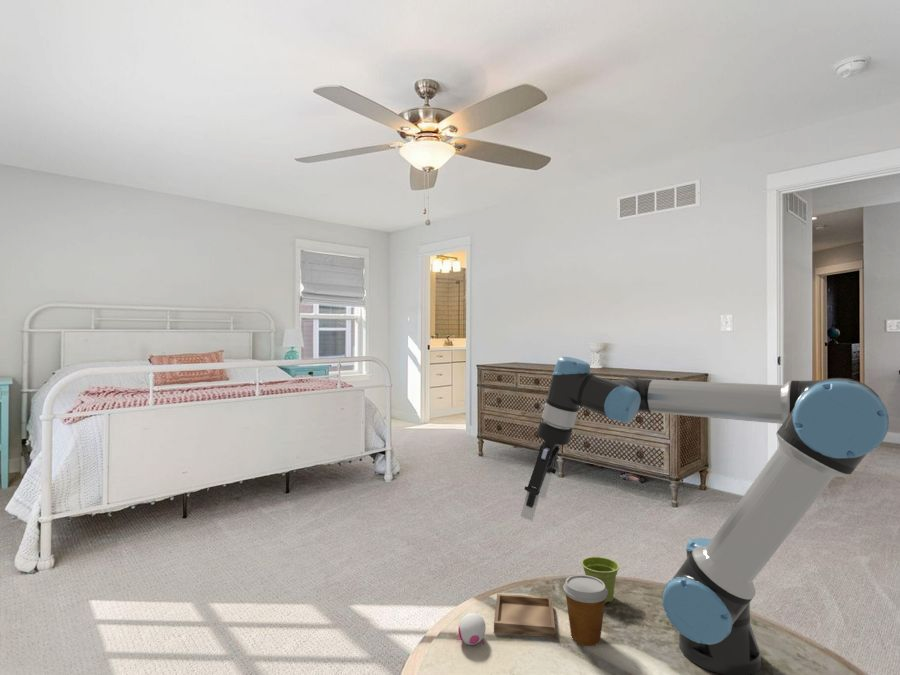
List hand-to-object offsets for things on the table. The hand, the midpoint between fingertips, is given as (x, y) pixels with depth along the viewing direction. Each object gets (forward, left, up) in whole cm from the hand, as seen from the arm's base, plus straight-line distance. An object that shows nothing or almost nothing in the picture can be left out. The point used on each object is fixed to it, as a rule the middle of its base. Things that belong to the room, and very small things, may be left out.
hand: (533, 506), depth 119 cm
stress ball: (+14, +10, -27) cm, 32 cm away
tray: (+2, -1, -27) cm, 27 cm away
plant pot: (-17, -14, -27) cm, 35 cm away
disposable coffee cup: (-11, +5, -27) cm, 30 cm away
